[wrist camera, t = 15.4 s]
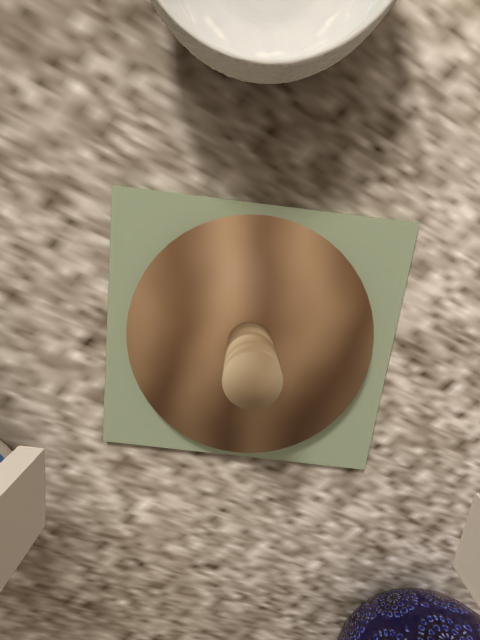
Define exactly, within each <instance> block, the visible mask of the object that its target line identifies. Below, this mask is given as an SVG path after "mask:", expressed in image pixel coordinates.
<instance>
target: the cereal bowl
mask: <svg viewBox="0 0 480 640" xmlns="http://www.w3.org/2000/svg"><path fill="white" fill-rule="evenodd" d="M150 1H151V3H152V5H153V6H154V8H155V9H156V11H157V12H158V15H159V16H160V18H161V19H162V21H163V22H164V23H165V24H166V25H167V27H168V29H169V31H170V32H171V33H172V34H173V35H174V36H175V37H176V38H177V40H178V41H179V42H180V43H181V45H183V46H184V47H185V48H186V49H188V51H189V52H190V53H191V54H192V55H194V56H195V57H196V58H198V59H199V60H200V61H202V62H203V63H204V64H206V65H208V66H209V67H210V68H211V69H213V70H217V71H218V72H220V73H223V74H224V75H226V76H227V77H232V78H234V79H239V80H241V81H247V82H251V83H256V84H281V83H288V82H293V81H297V80H301V79H303V78H306V77H310V76H312V75H314V74H317V73H319V72H320V71H324V70H326V69H327V68H328V67H330V66H332V65H334V64H335V63H337V62H339V61H340V60H341V59H342V58H344V57H345V56H347V55H348V54H349V53H350V52H352V51H353V50H354V49H355V48H356V47H358V46H359V44H361V43H362V42H363V41H364V39H365V38H367V37H368V35H369V34H371V33H372V31H373V30H374V29H375V28H376V27H377V26H378V25H379V24H380V22H381V21H382V19H383V18H384V17H385V15H386V14H387V13H388V12H389V10H390V9H391V7H392V5H393V4H394V3H395V2H396V0H150Z"/></svg>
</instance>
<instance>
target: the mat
mask: <svg viewBox="0 0 480 640" xmlns="http://www.w3.org/2000/svg"><path fill="white" fill-rule="evenodd" d="M246 214H253V215H268V216H273V217H278V218H283V219H286V220H289V221H292V222H295V223H298V224H301V225H303V226H305V227H307V228H309V229H311V230H313V231H315V232H316V233H318V234H319V235H321V236H322V237H323V238H325V239H326V240H328V241H329V242H330V243H331V244H333V245H334V246H335V247H336V248H337V249H338V250H339V251H340V252H341V253H342V254H343V255H344V256H345V257H346V259H347V260H348V261H349V262H350V264H351V265H352V266H353V268H354V269H355V271H356V273H357V274H358V276H359V277H360V279H361V281H362V283H363V286H364V288H365V290H366V293H367V295H368V299H369V302H370V306H371V310H372V316H373V324H374V343H373V350H372V357H371V361H370V364H369V368H368V371H367V374H366V376H365V378H364V381H363V383H362V385H361V387H360V389H359V391H358V392H357V394H356V396H355V397H354V399H353V400H352V402H351V403H350V404H349V405H348V407H347V408H346V409H345V411H344V412H343V413H342V414H341V415H340V416H339V417H338V418H337V419H336V420H335V421H334V422H332V423H331V424H330V425H329V426H327V427H326V428H325V429H323V430H322V431H321V432H319V433H317V434H316V435H314V436H312V437H311V438H309V439H307V440H305V441H302V442H300V443H298V444H296V445H293V446H290V447H286V448H283V449H280V450H274V451H269V452H260V453H239V452H231V451H225V450H220V449H216V448H213V447H209V446H206V445H204V444H201V443H199V442H197V441H194V440H192V439H190V438H189V437H187V436H185V435H184V434H182V433H180V432H179V431H177V430H176V429H175V428H173V427H172V426H171V425H169V424H168V423H167V422H166V421H165V420H164V419H163V418H162V417H161V416H160V415H159V414H158V413H157V412H156V411H155V410H154V409H153V407H152V406H151V405H150V404H149V402H148V401H147V400H146V398H145V396H144V395H143V393H142V391H141V390H140V388H139V386H138V384H137V381H136V379H135V377H134V375H133V371H132V368H131V365H130V361H129V357H128V350H127V340H126V327H127V318H128V311H129V308H130V304H131V300H132V297H133V294H134V292H135V289H136V287H137V285H138V282H139V281H140V279H141V277H142V275H143V274H144V272H145V270H146V269H147V267H148V266H149V265H150V263H151V262H152V261H153V260H154V258H155V257H156V256H157V255H158V254H159V253H160V252H161V251H162V250H163V249H164V248H165V247H166V246H167V245H168V244H169V243H171V242H172V241H173V240H175V239H176V238H178V237H179V236H180V235H182V234H183V233H185V232H187V231H189V230H191V229H192V228H194V227H196V226H198V225H201V224H204V223H206V222H209V221H212V220H214V219H219V218H223V217H228V216H234V215H246ZM419 224H420V223H414V222H406V221H398V220H390V219H382V218H374V217H366V216H358V215H350V214H342V213H333V212H325V211H317V210H309V209H301V208H293V207H285V206H277V205H269V204H261V203H253V202H245V201H237V200H228V199H220V198H212V197H204V196H196V195H188V194H180V193H172V192H164V191H156V190H148V189H140V188H131V187H123V186H115V185H112V204H111V232H110V260H109V288H108V316H107V344H106V372H105V400H104V428H103V441H107V442H116V443H125V444H134V445H144V446H153V447H162V448H171V449H180V450H189V451H198V452H207V453H217V454H226V455H235V456H244V457H253V458H262V459H271V460H280V461H290V462H299V463H308V464H317V465H326V466H335V467H344V468H353V469H363V470H365V465H366V461H367V456H368V452H369V448H370V443H371V439H372V434H373V430H374V425H375V421H376V416H377V412H378V407H379V403H380V398H381V394H382V389H383V385H384V381H385V376H386V372H387V367H388V363H389V358H390V354H391V349H392V345H393V340H394V336H395V331H396V327H397V323H398V318H399V314H400V309H401V305H402V300H403V296H404V291H405V287H406V282H407V278H408V273H409V269H410V264H411V260H412V256H413V251H414V247H415V242H416V238H417V233H418V229H419Z"/></svg>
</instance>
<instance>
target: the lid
mask: <svg viewBox="0 0 480 640" xmlns="http://www.w3.org/2000/svg"><path fill="white" fill-rule="evenodd" d="M126 340H127V350H128V357H129V361H130V365H131V368H132V371H133V375H134V377H135V379H136V381H137V384H138V386H139V388H140V390H141V391H142V393H143V395H144V396H145V398H146V400H147V401H148V402H149V404H150V405H151V406H152V407H153V409H154V410H155V411H156V412H157V413H158V414H159V415H160V416H161V417H162V418H163V419H164V420H165V421H166V422H167V423H168V424H169V425H171V426H172V427H173V428H175V429H176V430H177V431H179V432H180V433H182V434H184V435H185V436H187V437H189V438H190V439H192V440H194V441H197V442H199V443H201V444H204V445H206V446H209V447H213V448H216V449H220V450H225V451H231V452H239V453H260V452H269V451H274V450H280V449H283V448H286V447H290V446H293V445H296V444H298V443H300V442H302V441H305V440H307V439H309V438H311V437H312V436H314V435H316V434H317V433H319V432H321V431H322V430H323V429H325V428H326V427H327V426H329V425H330V424H331V423H332V422H334V421H335V420H336V419H337V418H338V417H339V416H340V415H341V414H342V413H343V412H344V411H345V409H346V408H347V407H348V405H349V404H350V403H351V402H352V400H353V399H354V397H355V396H356V394H357V392H358V391H359V389H360V387H361V385H362V383H363V381H364V378H365V376H366V374H367V371H368V368H369V364H370V361H371V357H372V350H373V343H374V324H373V316H372V310H371V306H370V302H369V299H368V295H367V293H366V290H365V288H364V286H363V283H362V281H361V279H360V277H359V276H358V274H357V273H356V271H355V269H354V268H353V266H352V265H351V264H350V262H349V261H348V260H347V259H346V257H345V256H344V255H343V254H342V253H341V252H340V251H339V250H338V249H337V248H336V247H335V246H334V245H333V244H331V243H330V242H329V241H328V240H326V239H325V238H323V237H322V236H321V235H319V234H318V233H316V232H315V231H313V230H311V229H309V228H307V227H305V226H303V225H301V224H298V223H295V222H292V221H289V220H286V219H283V218H278V217H273V216H268V215H253V214H246V215H234V216H228V217H223V218H219V219H214V220H212V221H209V222H206V223H204V224H201V225H198V226H196V227H194V228H192V229H191V230H189V231H187V232H185V233H183V234H182V235H180V236H179V237H178V238H176V239H175V240H173V241H172V242H171V243H169V244H168V245H167V246H166V247H165V248H164V249H163V250H162V251H161V252H160V253H159V254H158V255H157V256H156V257H155V258H154V260H153V261H152V262H151V263H150V265H149V266H148V267H147V269H146V270H145V272H144V274H143V275H142V277H141V279H140V281H139V282H138V285H137V287H136V289H135V292H134V294H133V297H132V300H131V304H130V308H129V311H128V318H127V327H126Z"/></svg>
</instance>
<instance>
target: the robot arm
mask: <svg viewBox="0 0 480 640" xmlns="http://www.w3.org/2000/svg"><path fill="white" fill-rule="evenodd" d="M45 526H46V519H45V448H37V447H27V446H18V447H17V448H16V449H15V450H14V451H13V452H11V453H10V454H9V455H8V456H7V457H6V458H5V459H4V460H3V461H2V462H1V463H0V592H1V591H2V589H3V588H4V586H5V585H6V583H7V582H8V580H9V579H10V577H11V576H12V575H13V573H14V572H15V570H16V569H17V567H18V566H19V564H20V563H21V561H22V560H23V558H24V557H25V555H26V554H27V552H28V551H29V549H30V548H31V546H32V545H33V543H34V542H35V540H36V539H37V538H38V536H39V535H40V533H41V532H42V530H43V529H44V527H45ZM452 566H453V567H454V569H455V571H456V572H457V574H458V575H459V577H460V578H461V580H462V581H463V583H464V584H465V586H466V588H467V589H468V591H469V592H470V594H471V595H472V597H473V598H474V600H475V601H476V603H477V605H478V606H479V608H480V494H479V493H475V495H474V498H473V501H472V505H471V508H470V511H469V514H468V517H467V520H466V524H465V527H464V530H463V533H462V536H461V539H460V543H459V546H458V549H457V552H456V555H455V558H454V562H453V565H452Z"/></svg>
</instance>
